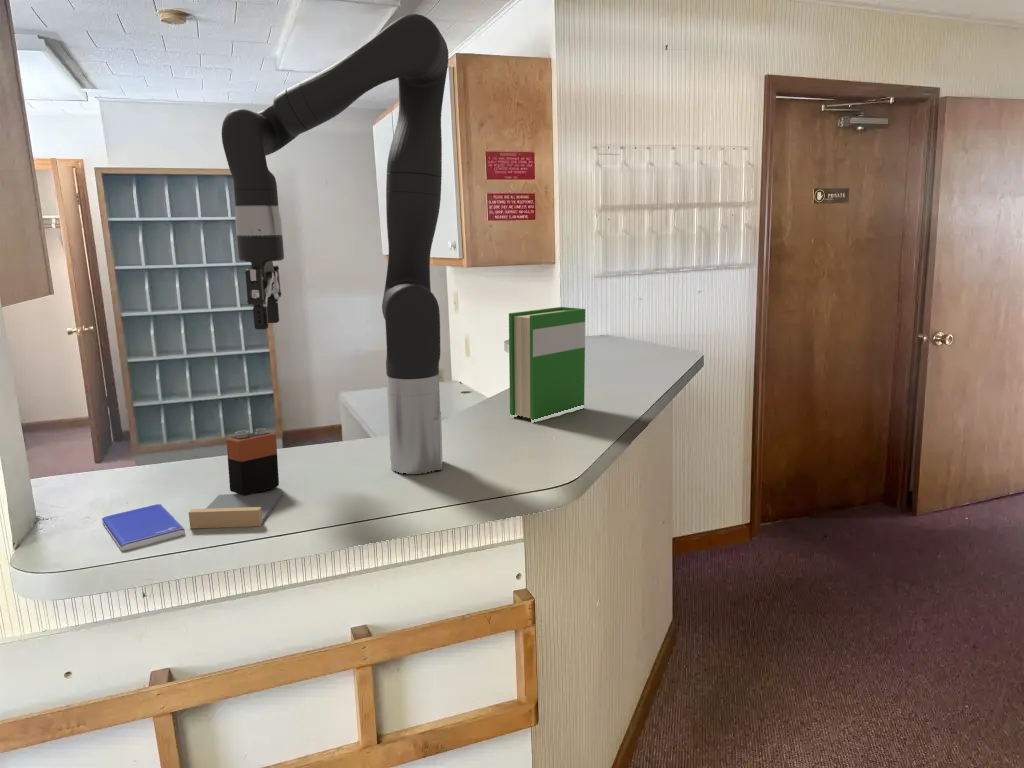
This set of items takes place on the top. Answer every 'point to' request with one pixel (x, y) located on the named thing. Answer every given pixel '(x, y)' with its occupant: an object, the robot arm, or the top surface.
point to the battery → (252, 461)
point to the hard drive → (142, 526)
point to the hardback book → (546, 361)
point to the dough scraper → (234, 511)
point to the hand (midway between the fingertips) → (267, 325)
